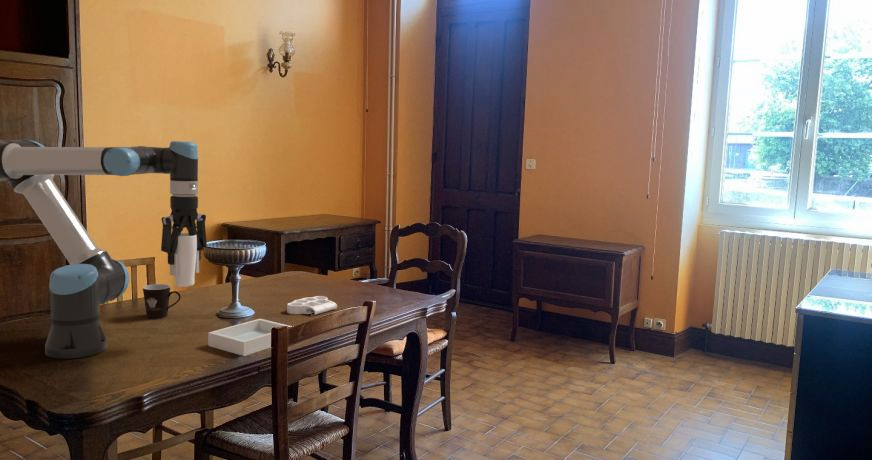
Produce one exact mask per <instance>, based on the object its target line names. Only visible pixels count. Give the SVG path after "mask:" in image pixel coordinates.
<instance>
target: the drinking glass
mask: <svg viewBox="0 0 872 460" xmlns="http://www.w3.org/2000/svg"><path fill="white" fill-rule="evenodd" d="M175 253H177V254H178V276H174V284H175V286H176V287H181V288H187V287H192V286H194V285H195V277H196V275H195V274H196V272H195V265H196V254H197V235H196V234H195V235H194V236H189V233H188V232H186V233H185V232H184V233H183V232H181V234H180V236H178V245H177V248H176V252H175Z"/></svg>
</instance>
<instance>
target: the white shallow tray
mask: <svg viewBox="0 0 872 460" xmlns="http://www.w3.org/2000/svg"><path fill="white" fill-rule="evenodd" d="M281 326H288V327H292V325H289V324H284V323H282V322H281V323H279V322H275V321H271V320H268V319H263V318H258V319H253V320H250V321H245V322H242V323H238V324H234V325H231V326H227V327H223V328H220V329H216V330H213V331H210V332H209V331H208V333H207V335H208V336H207V343H208V344H207V345H208V347H210V348H215V349H218V350H222V351H225V352H229V353H232V354H235V355H239V356H242V357H246V356H249V355H252V354H255V353H257V352H261V351H264V350H268V349H271V348H272V347H271V329H272V328H273V327H281Z"/></svg>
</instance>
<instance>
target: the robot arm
mask: <svg viewBox="0 0 872 460" xmlns="http://www.w3.org/2000/svg"><path fill="white" fill-rule="evenodd" d="M198 150H199V149H198V145H197V143H196V142H194V141H179V140H178V141H177V140H176V141H175V140H174V141H173V140H172V141H170V143H169V147H159V146H158V147H157V146H145V145H137V146H134V145H133V146H109V147H107V146H85V147H84V146H44V145H43V144H42V143H40V142H38V141H35V140H30V139H24V138H18V139H0V182H8V184H9V186H10V187H11V188H12V190H13V192H14V193H17V194H22V195H23V196H24V197H25V199H26V201H27V202H28V203H29V205H30V206H31V208H32V210H34V213H35V214H36V216H37V217H38V218H39V220H40V221H41V223H42V224H43V226H44V227H45V229H46V230H47V231H48V233H49V234H50V236H51V237H52V239H53V241H54V242H55V243H56V245H57V247H58V249H59V250H60V251H61V253H62V254H63V256H64V257H65V259H66V260H67V262H68V264H69V265H65V266H62V267H58V268H56V269H55V270H53V271H52V272H51V273H50V276H49V284H48V288H49V299H50V300H49V301H50V302H49V304H50V318H51V319H50V320H51V323H50V324H51V326H50V330H49V332H48V336H47V338H46V341H45V345H44V354H45V355H46V356H47V357H49V358H52V359H64V360H65V359H79V358H85V357H90V356H94V355H96V354H100V353H102V352H104V351H105V350H106V349H107V338H106V336H105V335H106V334H104V331H103V329H102V326H101V323H100V314H99V311H100V310H99V306H101V305H103V304H105V303H107V302H112V301H114V300H116V299H117V298H119V297H120V296H121V295H123V294H124V293H125V292H126V290H127V289H128V288H129V283H130V274H129V270H128V268H127V267H126V265H125V264H124V263H123V262H121V261H119V260H117V259H113V258H111V255H110V254H109V253H108V251H107V250H105V249H100V248H98V246H97V244H96V243H95V241H94V240H93V239H92V237H91V235H90V234H89V233H88V231H87V230H86V228H85V227H84V225H83V224H82V222H81V221H80V219H79V218H78V216H77V214H76V213H75V211H74V210H73V208H72V207H71V205H70V204H69V203H68V201H67V200H66V198H65V197H64V195H63V194H62V192H61V191H60V189H59V188H58V186H57V184H56V183H55V181H54V177H55V176H104V175H105V176H118V177H128V176H133V175H144V174H145V175H146V174H147V175H148V174H165V175H169V193H170V194H171V196H170V197H169V203H170V204H169V205H170V209H171V211H170V212H171V213H170V214H169V216H162V217H161V223H162V229H161V230H162V232H161V245H160V246H161V247H160V251H161V252H164V253H166V254H167V264H168V265H169V276H173V277H175V276H178V254H177V253H175V252H176V248H177V245H178V236H180V234H181V233H182V232H183V230H184V228H186V230H187V233H189V236H194V235H195V234H196V235H197V254H196V265H195V274H196V273H197V274H198V273H200V261H201V258H202V254H201V253H202V251H203V250H204V248H207V246H208V243H207V232H206V219H207V215H206V214H202V213H198V208H199V197H198V196H197V195H198V194H199V179H198V178H199V171H198V170H199V155H198V154H199V153H198Z"/></svg>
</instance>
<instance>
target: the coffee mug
mask: <svg viewBox="0 0 872 460" xmlns="http://www.w3.org/2000/svg"><path fill="white" fill-rule="evenodd" d="M142 291H143V298H144V299H143V301H144V305H145V313H146V314H145V315H146V318H148V319H156V320H157V319H163V318H166V317H168V314H169V309H170V308H172V307H174V306H175V305H176V304H178V303H179V302H180V300H181V298H182V297H181V294H180V292H178V291H175V290H173V291H171V285H170V284H166V283H165V284H164V283H162V284H161V283H156V284H155V283H153V284H148V285H147V284H146V285H144V286H142ZM173 293H175V294H177V296H178V299H177V300H176V301H175V302H174V303H172V304H171V305H170V304H169V303H170V297H171V295H172V294H173Z"/></svg>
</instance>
